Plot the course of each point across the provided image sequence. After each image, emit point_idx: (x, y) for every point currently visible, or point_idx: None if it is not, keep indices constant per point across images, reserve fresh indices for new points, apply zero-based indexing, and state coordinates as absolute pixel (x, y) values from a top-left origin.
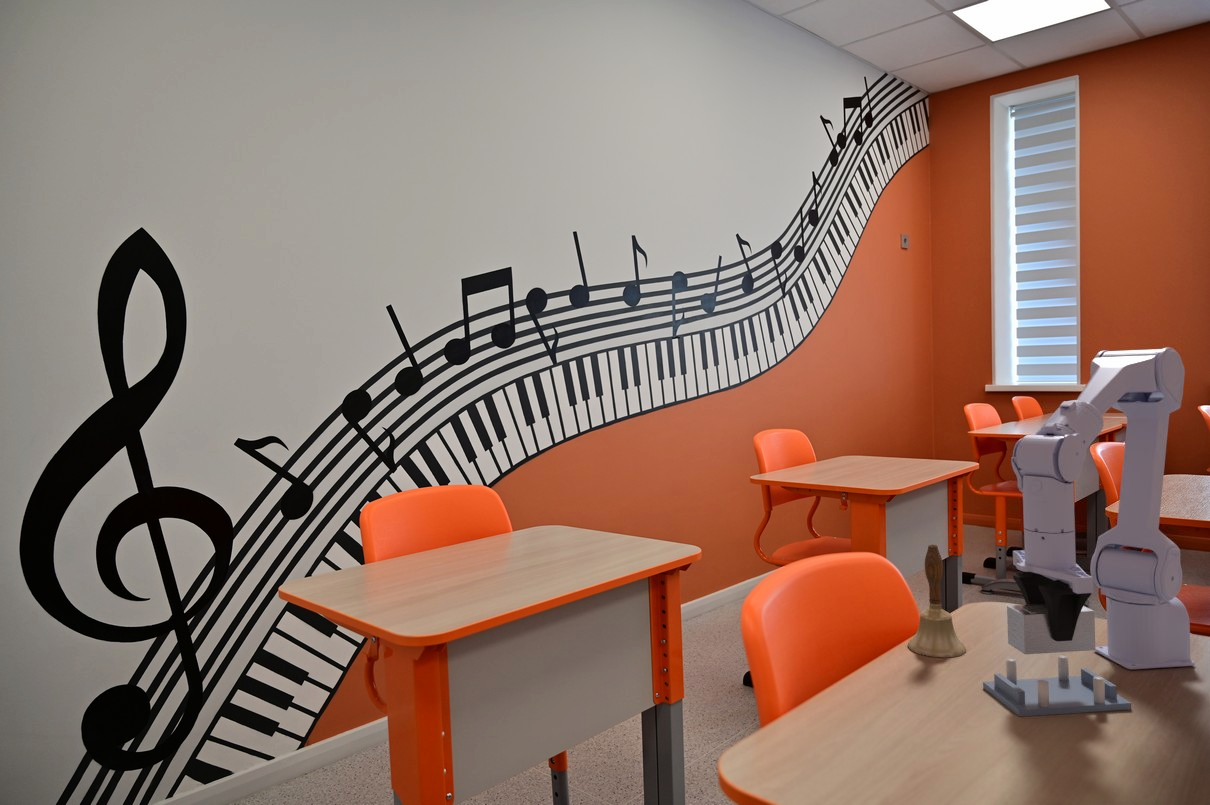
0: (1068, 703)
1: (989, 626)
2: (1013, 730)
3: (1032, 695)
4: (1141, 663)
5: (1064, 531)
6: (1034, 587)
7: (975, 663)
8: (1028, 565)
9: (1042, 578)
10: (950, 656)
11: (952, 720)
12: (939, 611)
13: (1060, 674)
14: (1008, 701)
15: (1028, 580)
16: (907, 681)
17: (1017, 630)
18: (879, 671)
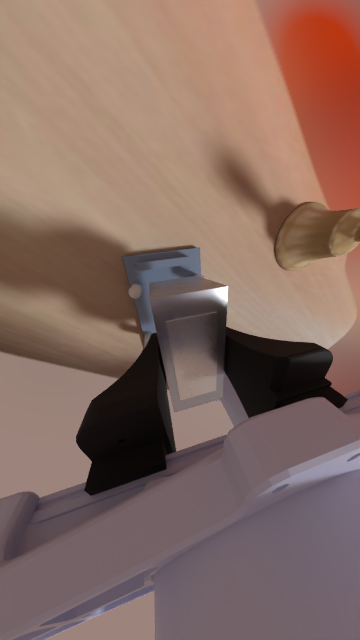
0: (145, 311)
1: (318, 309)
2: (82, 234)
3: None
4: None
5: None
6: (250, 370)
7: (255, 265)
8: (275, 500)
9: (264, 407)
10: (276, 245)
11: (97, 155)
12: (351, 235)
13: None
14: (145, 254)
15: (270, 375)
16: (228, 145)
17: (173, 285)
18: (268, 109)
